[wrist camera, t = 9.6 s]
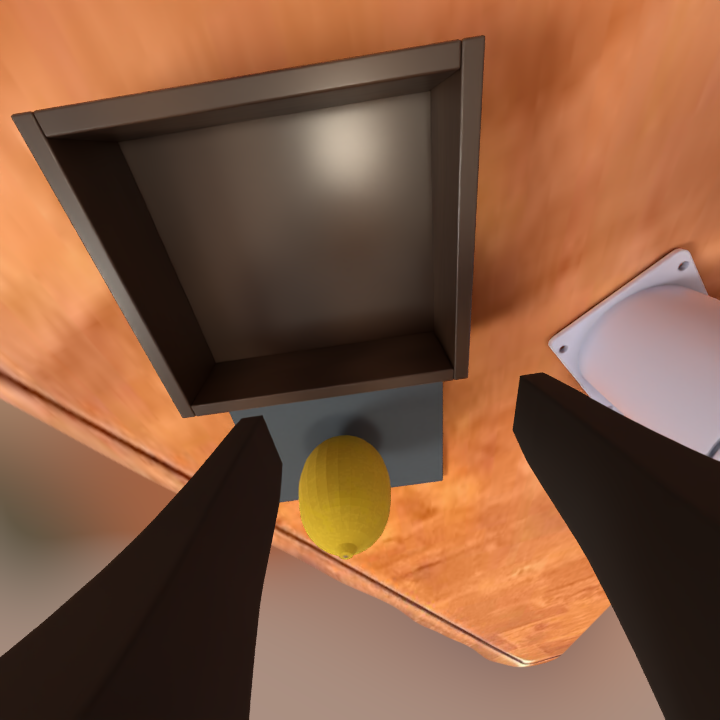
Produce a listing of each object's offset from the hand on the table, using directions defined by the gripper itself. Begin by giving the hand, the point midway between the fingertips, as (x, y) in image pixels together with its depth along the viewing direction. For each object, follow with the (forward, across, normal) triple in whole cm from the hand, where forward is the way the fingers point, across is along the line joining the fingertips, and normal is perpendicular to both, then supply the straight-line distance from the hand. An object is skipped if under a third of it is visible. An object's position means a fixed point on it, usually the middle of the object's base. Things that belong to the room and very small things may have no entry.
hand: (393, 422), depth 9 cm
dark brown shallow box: (+10, +3, -3) cm, 11 cm away
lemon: (+10, +3, +10) cm, 15 cm away
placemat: (+10, +3, +10) cm, 15 cm away
